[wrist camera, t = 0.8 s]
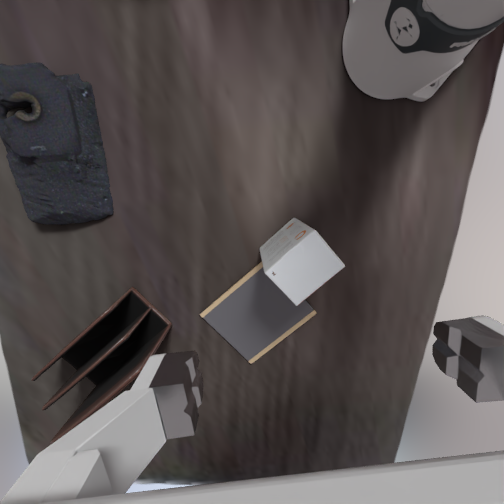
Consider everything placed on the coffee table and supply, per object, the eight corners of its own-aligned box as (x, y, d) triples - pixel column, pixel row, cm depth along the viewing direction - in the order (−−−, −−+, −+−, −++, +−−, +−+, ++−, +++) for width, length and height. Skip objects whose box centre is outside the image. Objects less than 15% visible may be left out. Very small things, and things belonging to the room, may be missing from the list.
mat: (266, 257, 44) (266, 257, 43) (316, 312, 46) (316, 313, 46) (200, 313, 46) (199, 314, 46) (251, 362, 49) (251, 364, 48)
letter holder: (173, 323, 47) (143, 379, 33) (102, 383, 50) (47, 457, 36) (133, 285, 45) (83, 328, 31) (61, 350, 48) (-13, 415, 34)
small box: (282, 273, 44) (296, 308, 32) (258, 248, 43) (262, 273, 31) (318, 243, 43) (347, 266, 31) (294, 216, 42) (314, 228, 29)
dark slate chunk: (28, 225, 42) (2, 230, 38) (-14, 76, 37) (-51, 60, 32) (120, 220, 42) (104, 223, 38) (91, 69, 37) (69, 52, 32)
